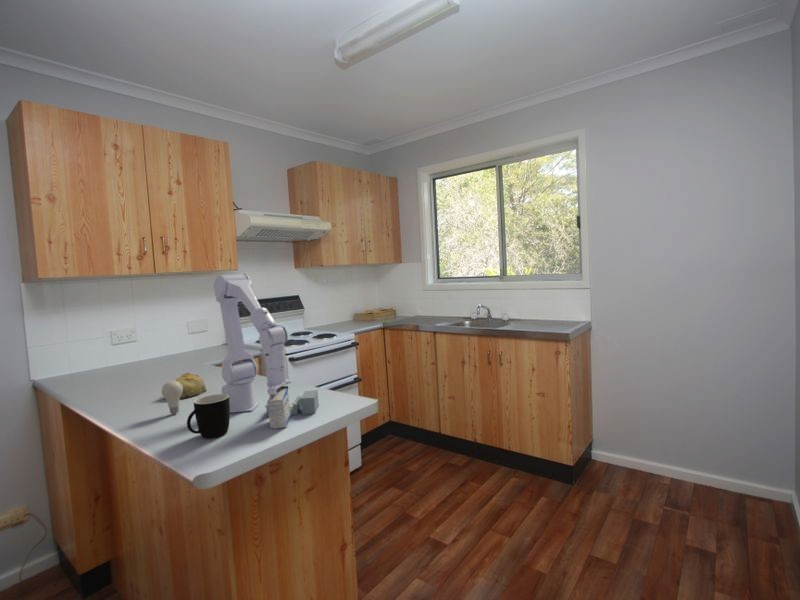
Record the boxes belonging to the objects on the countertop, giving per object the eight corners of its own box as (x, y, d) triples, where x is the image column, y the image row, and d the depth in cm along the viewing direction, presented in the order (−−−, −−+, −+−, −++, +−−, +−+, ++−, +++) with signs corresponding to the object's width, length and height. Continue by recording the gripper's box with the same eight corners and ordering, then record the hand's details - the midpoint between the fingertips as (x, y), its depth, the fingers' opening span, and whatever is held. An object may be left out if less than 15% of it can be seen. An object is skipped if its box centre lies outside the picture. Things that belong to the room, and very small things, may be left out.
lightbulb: (189, 411, 140) (186, 378, 139) (174, 417, 134) (170, 383, 133) (175, 410, 142) (171, 378, 141) (159, 416, 136) (156, 383, 135)
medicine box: (286, 428, 119) (283, 399, 117) (270, 429, 119) (266, 401, 117) (291, 414, 127) (287, 387, 125) (275, 415, 126) (272, 388, 124)
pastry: (207, 388, 170) (205, 368, 169) (205, 396, 158) (203, 375, 157) (168, 393, 165) (166, 373, 164) (162, 402, 153) (160, 381, 152)
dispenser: (266, 418, 128) (264, 402, 128) (273, 408, 137) (271, 393, 136) (314, 414, 129) (313, 398, 129) (318, 405, 138) (317, 390, 137)
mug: (218, 426, 124) (215, 392, 123) (239, 430, 119) (235, 395, 118) (179, 442, 113) (175, 405, 113) (200, 447, 109) (196, 409, 108)
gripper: (284, 371, 119) (288, 418, 120) (294, 360, 133) (297, 402, 134) (259, 373, 118) (263, 421, 119) (271, 362, 133) (275, 404, 134)
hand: (280, 411), depth 127 cm, fingers closed, pressing on medicine box
